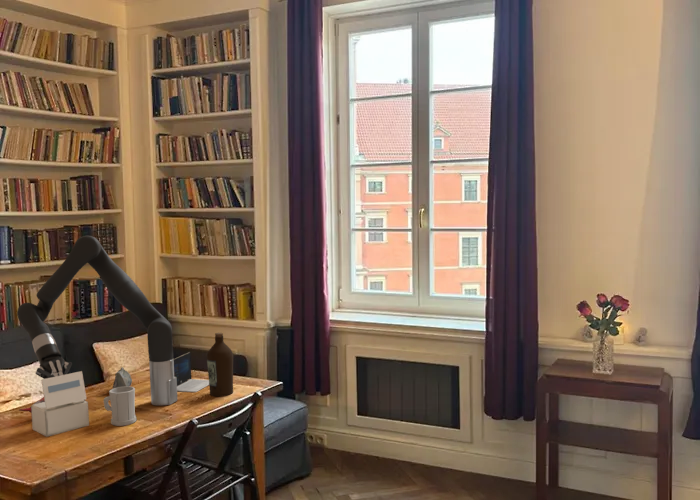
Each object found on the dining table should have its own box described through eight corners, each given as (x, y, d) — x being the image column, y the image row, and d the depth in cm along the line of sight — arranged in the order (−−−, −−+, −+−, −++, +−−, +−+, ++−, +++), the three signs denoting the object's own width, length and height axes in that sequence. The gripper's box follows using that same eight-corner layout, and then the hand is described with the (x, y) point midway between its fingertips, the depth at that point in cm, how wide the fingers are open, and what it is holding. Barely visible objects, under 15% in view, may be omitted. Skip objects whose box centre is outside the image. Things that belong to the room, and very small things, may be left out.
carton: (32, 429, 236) (30, 404, 236) (74, 418, 247) (72, 394, 246) (46, 436, 228) (45, 411, 227) (89, 425, 239) (87, 400, 238)
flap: (46, 408, 228) (41, 379, 229) (85, 399, 238) (81, 371, 239) (46, 408, 227) (42, 379, 228) (86, 398, 238) (82, 371, 239)
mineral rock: (126, 384, 293) (125, 362, 293) (145, 387, 289) (144, 364, 288) (104, 392, 282) (102, 369, 281) (123, 395, 277) (121, 371, 276)
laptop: (195, 393, 277) (194, 362, 276) (169, 391, 281) (167, 361, 280) (216, 382, 294) (215, 352, 294) (191, 380, 298) (189, 351, 297)
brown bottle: (227, 388, 282) (224, 329, 281) (239, 393, 274) (236, 333, 272) (203, 393, 276) (201, 333, 274) (215, 398, 268) (213, 337, 266)
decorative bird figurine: (62, 412, 255) (60, 386, 254) (22, 427, 239) (20, 399, 238) (56, 411, 256) (55, 386, 255) (16, 426, 240) (15, 399, 239)
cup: (107, 428, 234) (105, 395, 234) (104, 421, 243) (102, 389, 242) (138, 423, 239) (136, 390, 238) (134, 416, 247) (132, 384, 247)
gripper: (29, 346, 235) (46, 386, 227) (67, 339, 244) (83, 378, 237) (24, 358, 239) (40, 398, 231) (61, 352, 248) (78, 390, 241)
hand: (62, 388), depth 234 cm, fingers closed
